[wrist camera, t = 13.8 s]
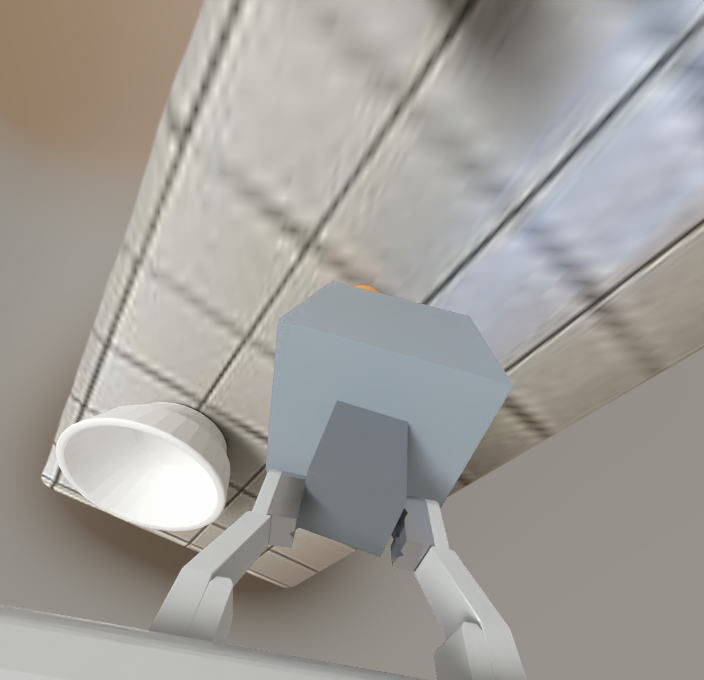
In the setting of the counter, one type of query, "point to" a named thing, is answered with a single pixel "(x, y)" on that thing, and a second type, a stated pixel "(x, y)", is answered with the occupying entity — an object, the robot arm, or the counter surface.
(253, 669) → the robot arm
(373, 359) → the grey block with knob
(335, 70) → the counter surface
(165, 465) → the bowl
